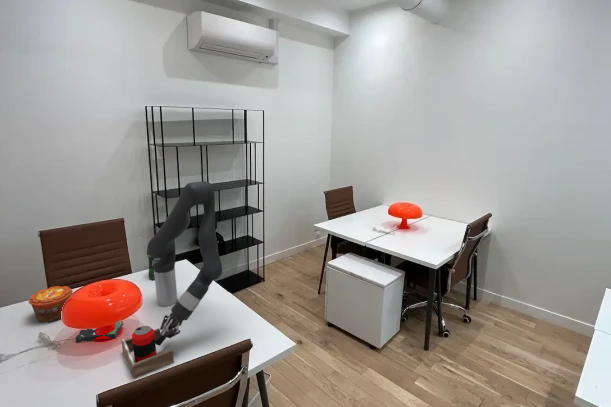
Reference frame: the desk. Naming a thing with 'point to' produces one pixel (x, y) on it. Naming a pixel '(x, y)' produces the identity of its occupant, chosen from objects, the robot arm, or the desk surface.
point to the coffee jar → (151, 266)
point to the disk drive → (90, 335)
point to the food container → (50, 303)
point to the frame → (149, 363)
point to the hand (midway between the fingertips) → (157, 344)
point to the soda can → (143, 343)
